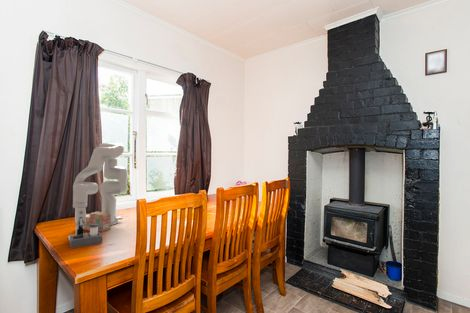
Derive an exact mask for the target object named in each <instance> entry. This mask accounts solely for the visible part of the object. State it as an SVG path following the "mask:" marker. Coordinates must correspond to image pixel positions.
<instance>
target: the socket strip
mask: <svg viewBox="0 0 470 313" xmlns="http://www.w3.org/2000/svg"><path fill="white" fill-rule="evenodd" d="M86 233H87V234H80V235H76V234H73V235H74V236H70V235H69V236H70V241H69V245H70V249H73V248H75V249H76V248H80V247H87V246H92V245H93V246H94V245H98V244H103V234H102V233H101V231H98V236H92V237H90V232H86Z"/></svg>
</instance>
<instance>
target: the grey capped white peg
mask: <svg viewBox="0 0 470 313" xmlns="http://www.w3.org/2000/svg"><path fill="white" fill-rule="evenodd" d="M98 232H99V231H98V224H97V223H94V224H90V230H89V233H90V237H92V236H98Z"/></svg>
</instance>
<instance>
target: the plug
mask: <svg viewBox="0 0 470 313" xmlns="http://www.w3.org/2000/svg"><path fill="white" fill-rule="evenodd" d="M79 224H80V223H79ZM83 228H84V222H83ZM77 229H78V224H76V222H75V235H77Z"/></svg>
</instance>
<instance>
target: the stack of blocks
mask: <svg viewBox="0 0 470 313" xmlns="http://www.w3.org/2000/svg"><path fill="white" fill-rule="evenodd" d="M110 222H111V214H110V213H106V212H102V211H94V212H93V211H92V212H90V213H86V223H84V228H83V230H85V231H90V224H94V223H97V224H98V232H105V231H108V230H111V225H110Z"/></svg>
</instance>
